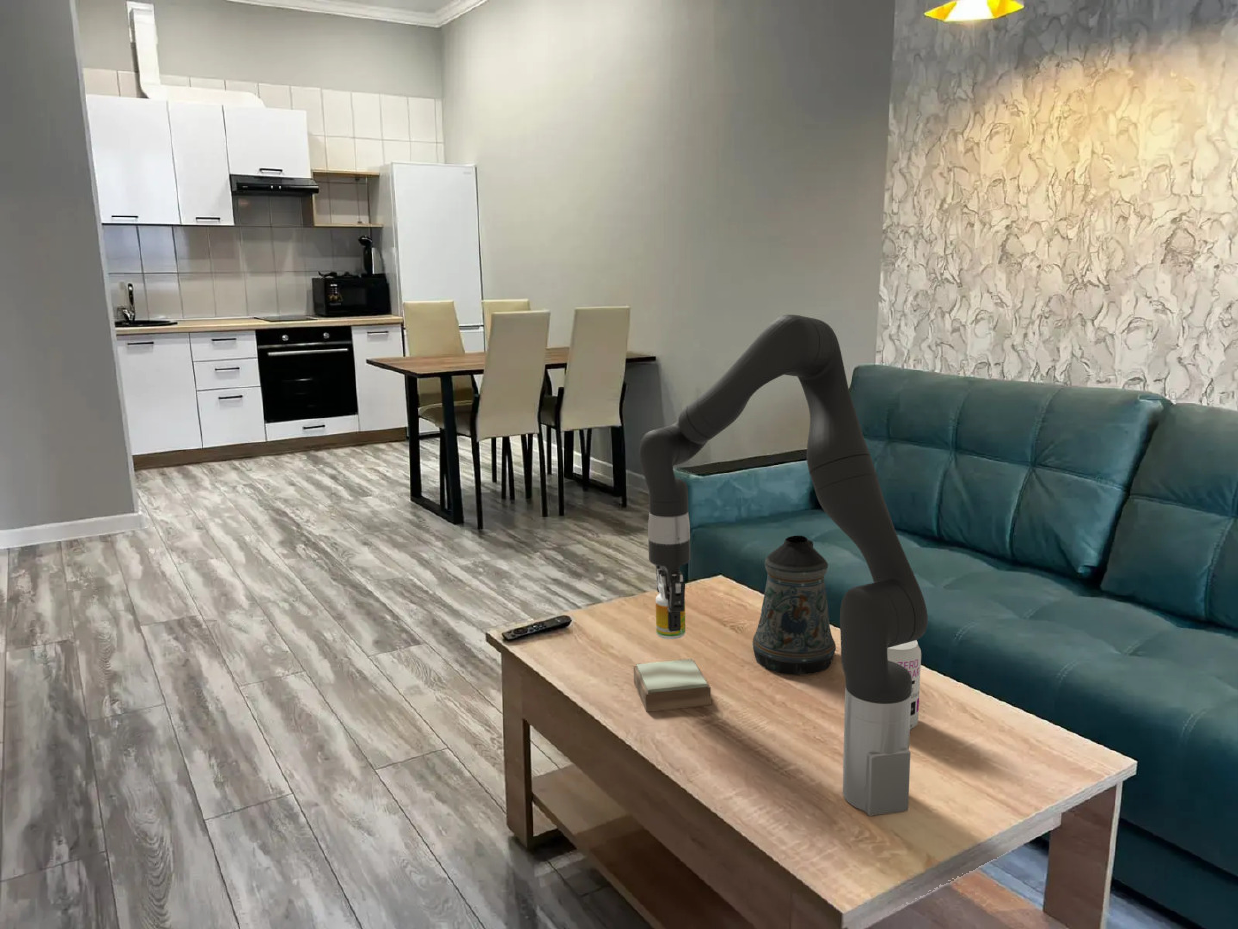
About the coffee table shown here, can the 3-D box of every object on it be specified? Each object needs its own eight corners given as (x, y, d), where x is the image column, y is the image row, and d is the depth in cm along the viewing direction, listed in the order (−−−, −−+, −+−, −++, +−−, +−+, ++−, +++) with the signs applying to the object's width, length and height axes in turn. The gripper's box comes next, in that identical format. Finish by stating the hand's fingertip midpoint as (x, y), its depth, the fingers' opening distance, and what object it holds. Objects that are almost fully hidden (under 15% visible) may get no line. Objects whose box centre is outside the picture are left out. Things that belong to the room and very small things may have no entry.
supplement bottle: (683, 640, 159) (682, 590, 157) (654, 639, 160) (653, 588, 158) (687, 629, 164) (686, 580, 162) (658, 627, 166) (657, 578, 164)
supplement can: (883, 706, 158) (886, 627, 155) (926, 721, 152) (930, 640, 149) (859, 722, 152) (861, 641, 149) (903, 739, 146) (907, 655, 143)
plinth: (710, 705, 160) (710, 684, 159) (646, 712, 158) (645, 691, 157) (694, 676, 172) (694, 657, 171) (633, 682, 170) (633, 663, 169)
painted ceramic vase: (759, 677, 171) (759, 554, 165) (745, 637, 190) (745, 525, 184) (844, 675, 170) (847, 552, 165) (822, 635, 189) (824, 523, 184)
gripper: (699, 546, 152) (700, 637, 156) (680, 524, 166) (681, 608, 170) (657, 549, 151) (659, 641, 155) (641, 527, 165) (643, 612, 168)
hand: (670, 623), depth 162 cm, fingers closed on supplement bottle, 5 cm apart
